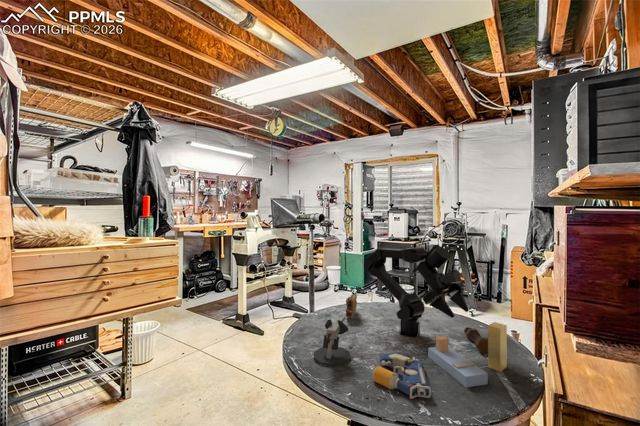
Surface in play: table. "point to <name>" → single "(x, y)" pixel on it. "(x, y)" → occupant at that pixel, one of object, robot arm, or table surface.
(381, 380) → the toy gun
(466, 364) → the plane body
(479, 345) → the bolt
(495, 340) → the tan tall block
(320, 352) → the gun turret
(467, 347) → the table surface
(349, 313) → the wooden carving
